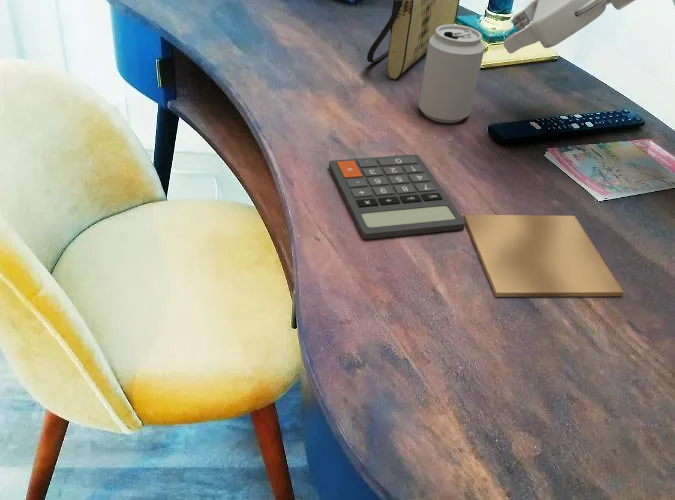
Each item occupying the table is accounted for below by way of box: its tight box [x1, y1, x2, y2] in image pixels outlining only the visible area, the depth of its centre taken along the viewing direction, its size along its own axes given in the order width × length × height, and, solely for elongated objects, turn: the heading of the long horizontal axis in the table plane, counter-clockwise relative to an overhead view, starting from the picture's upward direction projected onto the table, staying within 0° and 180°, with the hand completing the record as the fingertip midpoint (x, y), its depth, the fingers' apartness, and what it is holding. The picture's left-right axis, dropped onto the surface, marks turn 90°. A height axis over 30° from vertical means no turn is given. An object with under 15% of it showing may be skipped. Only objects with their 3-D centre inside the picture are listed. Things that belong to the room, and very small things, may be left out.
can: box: [418, 24, 486, 124], centre depth 89 cm, size 8×8×12 cm
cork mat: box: [462, 214, 625, 298], centre depth 68 cm, size 13×13×1 cm
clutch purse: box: [366, 0, 461, 80], centre depth 106 cm, size 30×7×15 cm, turn 153°
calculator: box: [328, 154, 466, 240], centre depth 75 cm, size 12×1×15 cm
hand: (510, 35), depth 84 cm, fingers open, 8 cm apart
